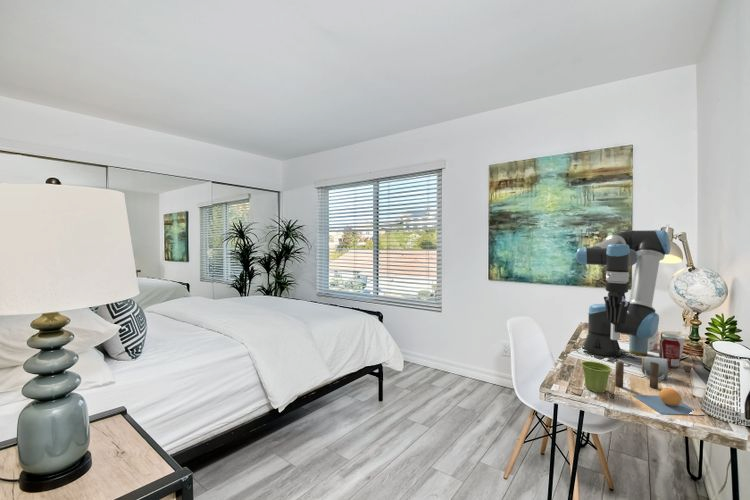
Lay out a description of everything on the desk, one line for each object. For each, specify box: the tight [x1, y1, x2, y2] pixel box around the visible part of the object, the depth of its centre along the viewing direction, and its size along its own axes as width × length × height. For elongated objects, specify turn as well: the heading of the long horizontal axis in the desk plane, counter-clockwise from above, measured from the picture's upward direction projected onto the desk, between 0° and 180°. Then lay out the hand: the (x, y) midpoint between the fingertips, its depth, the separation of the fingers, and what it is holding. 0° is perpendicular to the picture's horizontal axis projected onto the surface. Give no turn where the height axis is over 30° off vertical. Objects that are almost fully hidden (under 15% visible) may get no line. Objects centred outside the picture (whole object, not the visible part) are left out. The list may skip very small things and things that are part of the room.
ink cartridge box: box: [648, 327, 659, 352], centre depth 173 cm, size 9×5×15 cm, turn 115°
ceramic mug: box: [641, 356, 669, 382], centre depth 137 cm, size 11×8×8 cm
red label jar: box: [661, 333, 687, 359], centre depth 161 cm, size 8×8×10 cm
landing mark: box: [632, 394, 695, 416], centre depth 114 cm, size 13×13×1 cm
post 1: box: [614, 360, 625, 388], centre depth 128 cm, size 2×2×9 cm
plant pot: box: [580, 360, 613, 393], centre depth 125 cm, size 9×9×9 cm
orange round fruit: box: [658, 387, 682, 406], centre depth 113 cm, size 6×6×6 cm
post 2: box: [649, 362, 659, 390], centre depth 127 cm, size 2×2×9 cm
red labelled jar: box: [658, 336, 681, 368], centre depth 150 cm, size 7×7×12 cm
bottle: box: [628, 335, 649, 356], centre depth 166 cm, size 7×7×15 cm
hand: (615, 339), depth 140 cm, fingers closed
